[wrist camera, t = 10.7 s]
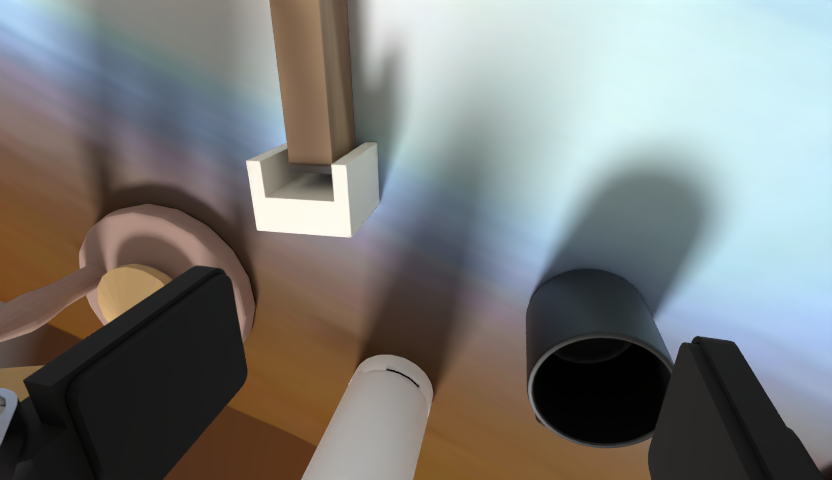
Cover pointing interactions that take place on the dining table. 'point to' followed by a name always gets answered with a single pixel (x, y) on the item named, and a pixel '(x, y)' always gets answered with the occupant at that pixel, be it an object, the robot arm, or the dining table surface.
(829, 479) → the diary
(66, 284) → the hourglass
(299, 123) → the rail
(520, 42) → the dining table surface
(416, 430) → the bottle
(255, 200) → the white u-channel cradle
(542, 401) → the mug
